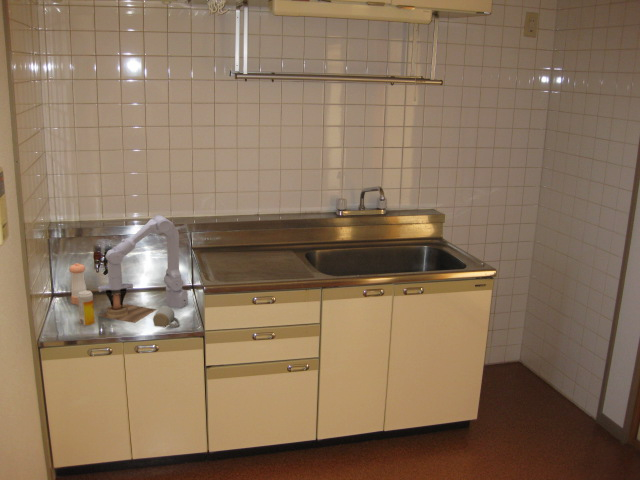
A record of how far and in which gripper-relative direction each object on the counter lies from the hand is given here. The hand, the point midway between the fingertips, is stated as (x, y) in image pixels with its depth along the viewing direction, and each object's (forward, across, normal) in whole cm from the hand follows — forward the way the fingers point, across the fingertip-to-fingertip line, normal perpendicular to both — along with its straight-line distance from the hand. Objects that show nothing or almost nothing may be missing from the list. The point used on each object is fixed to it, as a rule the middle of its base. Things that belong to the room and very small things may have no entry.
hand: (116, 305), depth 294 cm
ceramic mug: (+6, -20, +16) cm, 26 cm away
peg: (+2, 0, 0) cm, 2 cm away
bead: (+4, 0, 0) cm, 4 cm away
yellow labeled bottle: (+6, +13, +6) cm, 15 cm away
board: (+5, -5, 0) cm, 7 cm away
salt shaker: (+6, +16, -24) cm, 29 cm away
